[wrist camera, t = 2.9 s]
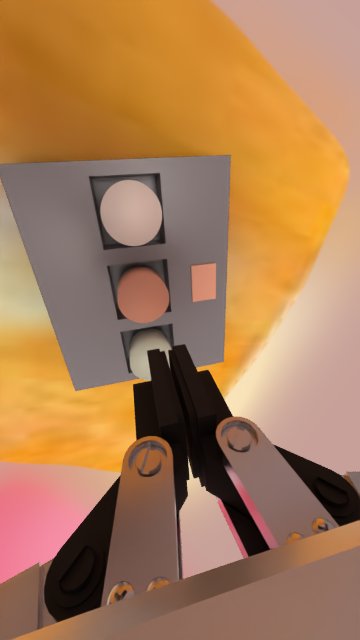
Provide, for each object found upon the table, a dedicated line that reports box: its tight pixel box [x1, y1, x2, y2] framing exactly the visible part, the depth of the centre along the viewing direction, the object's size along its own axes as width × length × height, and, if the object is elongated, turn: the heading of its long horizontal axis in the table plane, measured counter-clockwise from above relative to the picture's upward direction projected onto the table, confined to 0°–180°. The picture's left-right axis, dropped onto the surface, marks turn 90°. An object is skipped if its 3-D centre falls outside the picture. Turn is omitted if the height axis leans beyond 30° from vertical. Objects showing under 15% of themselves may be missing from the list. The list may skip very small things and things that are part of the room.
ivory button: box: [100, 180, 162, 246], centre depth 15 cm, size 4×4×2 cm
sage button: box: [129, 329, 172, 380], centre depth 20 cm, size 4×4×2 cm
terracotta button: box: [118, 266, 169, 323], centre depth 18 cm, size 4×4×2 cm
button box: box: [0, 155, 231, 391], centre depth 20 cm, size 17×14×3 cm
